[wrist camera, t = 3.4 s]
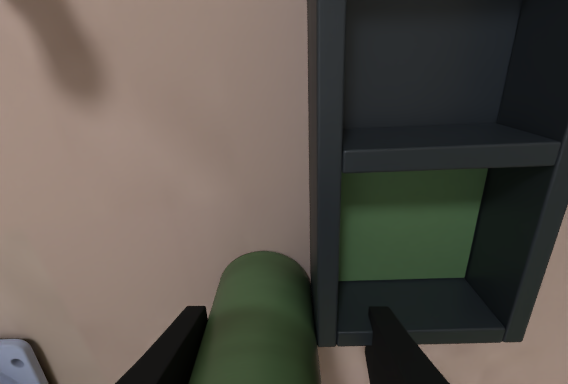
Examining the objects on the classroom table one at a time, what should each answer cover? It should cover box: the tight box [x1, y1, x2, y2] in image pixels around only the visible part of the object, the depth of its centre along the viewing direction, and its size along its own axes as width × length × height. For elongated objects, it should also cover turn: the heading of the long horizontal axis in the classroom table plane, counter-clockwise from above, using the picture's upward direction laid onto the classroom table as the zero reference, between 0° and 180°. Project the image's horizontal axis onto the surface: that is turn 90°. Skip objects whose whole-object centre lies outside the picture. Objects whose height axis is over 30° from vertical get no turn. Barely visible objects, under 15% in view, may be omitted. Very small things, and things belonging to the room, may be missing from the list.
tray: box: [307, 0, 568, 347], centre depth 9 cm, size 6×12×3 cm, turn 2°
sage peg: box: [189, 251, 321, 384], centre depth 10 cm, size 4×4×6 cm
